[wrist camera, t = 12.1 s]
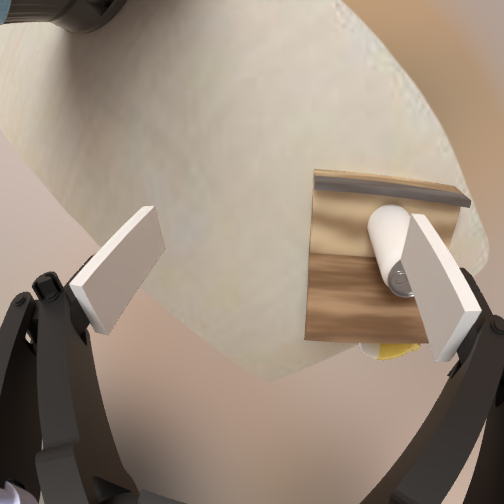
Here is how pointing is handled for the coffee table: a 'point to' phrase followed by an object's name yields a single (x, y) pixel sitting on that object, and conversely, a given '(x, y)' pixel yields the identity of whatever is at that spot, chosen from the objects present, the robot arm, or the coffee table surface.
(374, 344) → the mug
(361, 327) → the brown piece
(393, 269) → the can
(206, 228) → the coffee table surface
